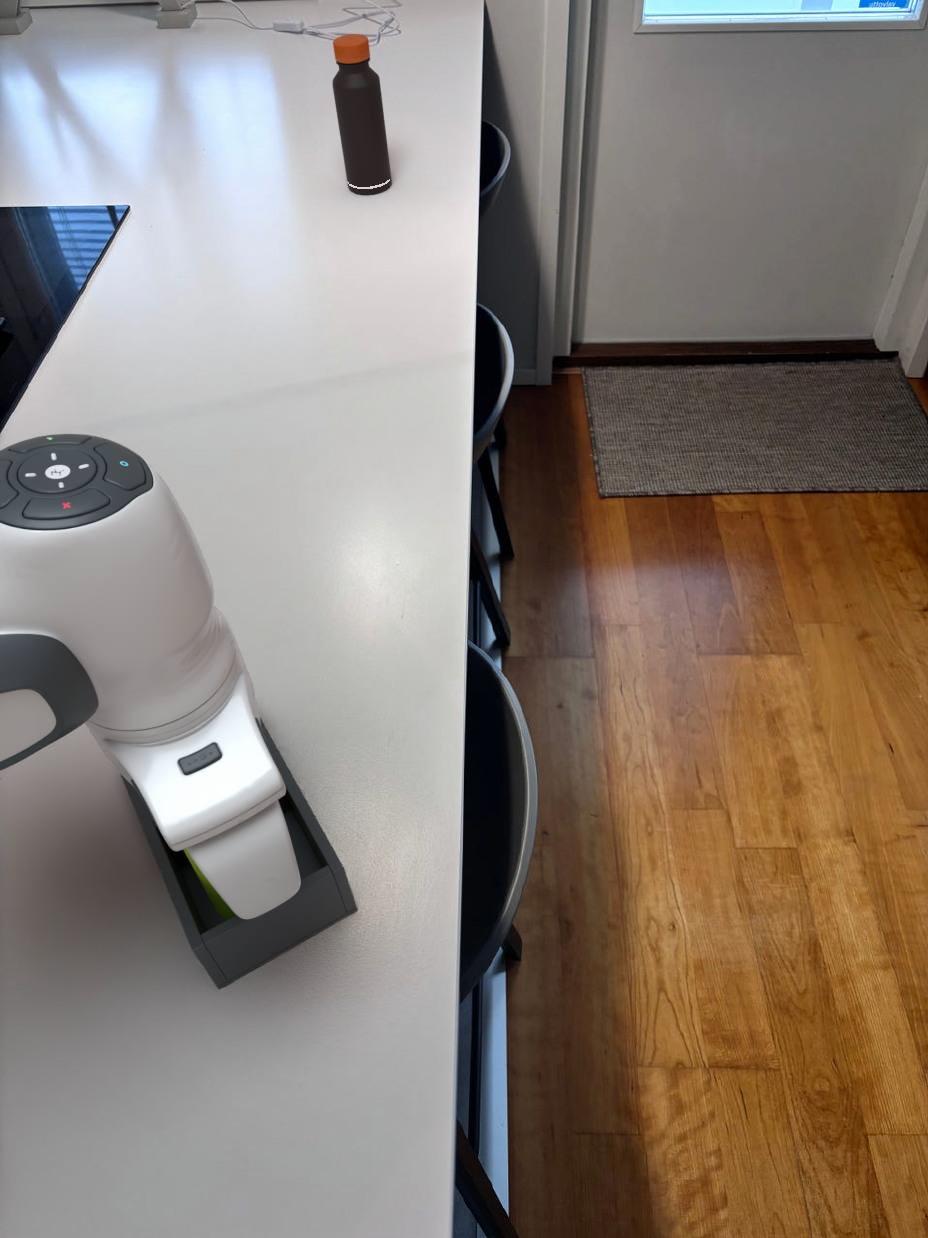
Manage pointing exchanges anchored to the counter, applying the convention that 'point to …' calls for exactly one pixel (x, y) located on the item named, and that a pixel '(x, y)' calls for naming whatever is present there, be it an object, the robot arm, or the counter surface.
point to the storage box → (261, 939)
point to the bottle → (360, 116)
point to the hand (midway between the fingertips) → (232, 821)
